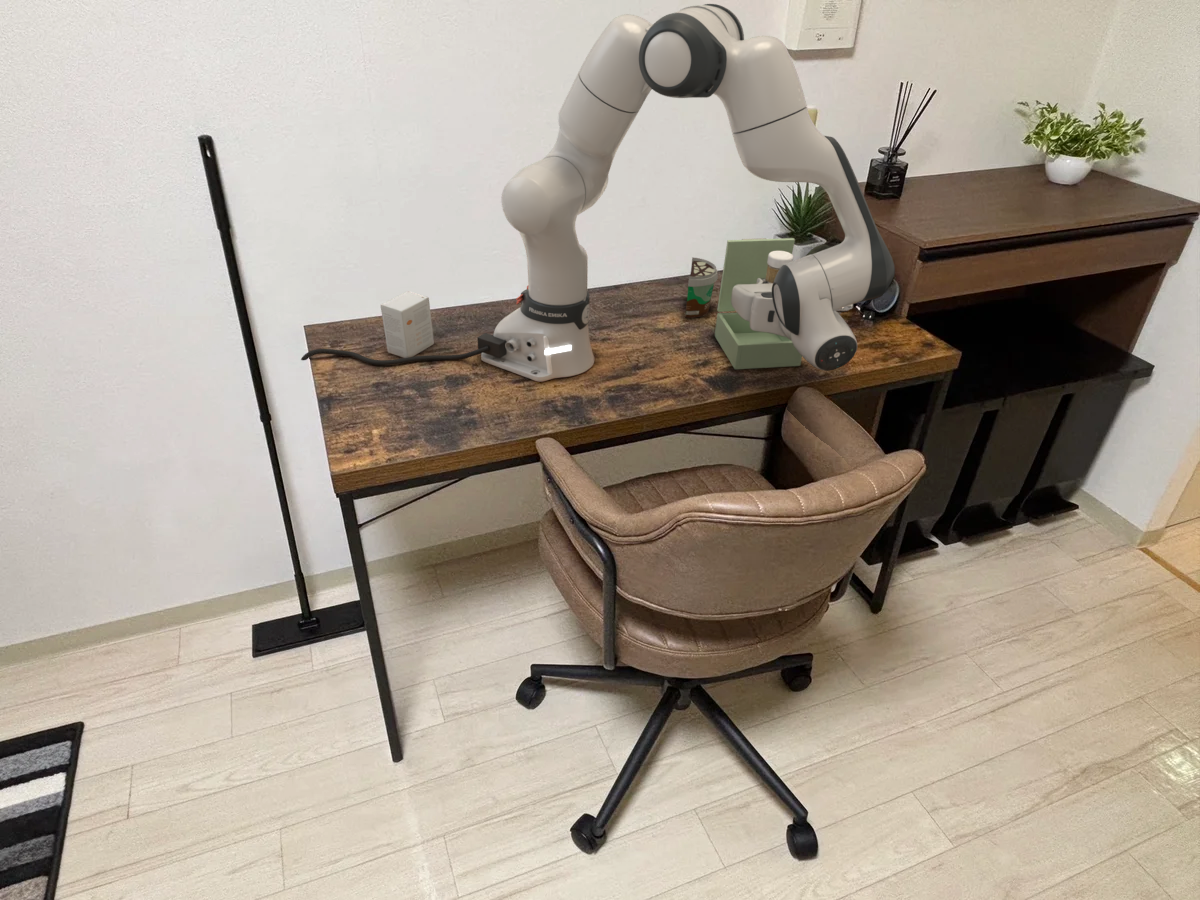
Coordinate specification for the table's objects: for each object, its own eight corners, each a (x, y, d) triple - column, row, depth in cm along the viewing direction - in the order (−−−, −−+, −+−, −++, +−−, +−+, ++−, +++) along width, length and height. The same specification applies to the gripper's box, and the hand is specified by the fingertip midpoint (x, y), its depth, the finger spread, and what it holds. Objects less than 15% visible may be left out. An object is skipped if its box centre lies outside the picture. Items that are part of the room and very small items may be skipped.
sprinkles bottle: (768, 314, 152) (779, 248, 144) (786, 322, 149) (799, 255, 141) (753, 320, 150) (763, 253, 142) (771, 328, 147) (782, 260, 139)
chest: (800, 365, 153) (805, 341, 150) (734, 369, 152) (738, 345, 149) (775, 333, 165) (779, 310, 162) (714, 336, 163) (717, 313, 160)
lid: (795, 239, 152) (786, 229, 156) (728, 241, 150) (721, 231, 154) (780, 309, 162) (773, 298, 165) (718, 312, 160) (712, 300, 163)
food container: (712, 323, 169) (718, 279, 163) (684, 320, 169) (688, 277, 164) (714, 300, 179) (719, 258, 173) (688, 297, 179) (692, 256, 174)
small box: (414, 337, 159) (408, 289, 153) (435, 344, 157) (429, 296, 151) (386, 352, 154) (379, 303, 148) (407, 360, 151) (401, 310, 145)
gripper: (861, 293, 134) (830, 263, 145) (748, 297, 131) (725, 266, 142) (853, 326, 138) (823, 295, 149) (742, 331, 135) (721, 298, 146)
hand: (774, 281), depth 146 cm, fingers closed on sprinkles bottle, 4 cm apart
